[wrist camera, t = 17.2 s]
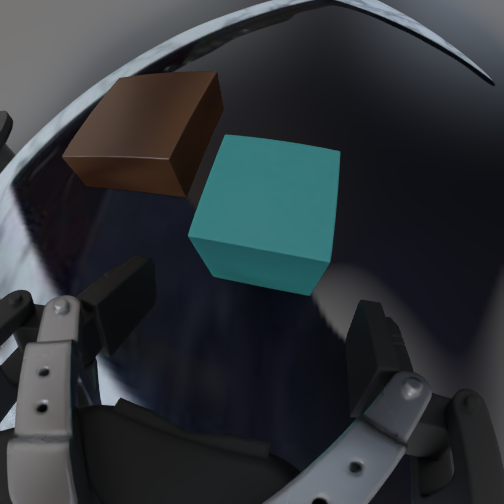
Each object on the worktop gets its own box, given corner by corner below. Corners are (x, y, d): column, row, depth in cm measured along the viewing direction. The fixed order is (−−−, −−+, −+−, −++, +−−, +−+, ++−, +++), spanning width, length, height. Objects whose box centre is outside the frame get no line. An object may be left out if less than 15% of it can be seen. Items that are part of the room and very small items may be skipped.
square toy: (213, 276, 16) (187, 235, 11) (236, 194, 18) (224, 133, 13) (310, 296, 15) (330, 262, 10) (322, 209, 17) (340, 150, 12)
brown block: (87, 186, 19) (61, 156, 15) (133, 109, 22) (119, 77, 19) (186, 198, 18) (169, 159, 14) (224, 109, 21) (217, 71, 17)
